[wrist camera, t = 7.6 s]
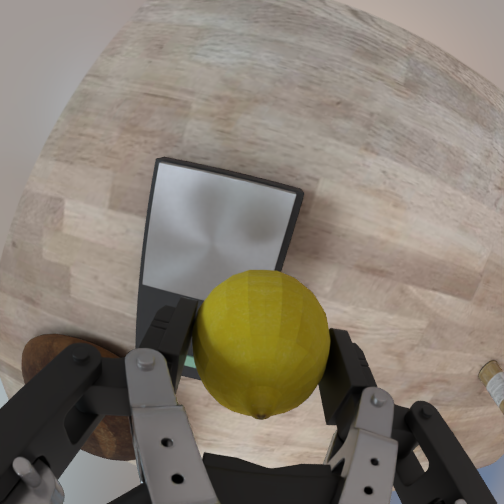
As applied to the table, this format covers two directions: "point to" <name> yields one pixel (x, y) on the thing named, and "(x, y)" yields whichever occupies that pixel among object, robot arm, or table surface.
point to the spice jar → (494, 382)
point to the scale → (157, 298)
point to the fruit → (260, 343)
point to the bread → (111, 427)
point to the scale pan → (211, 229)
